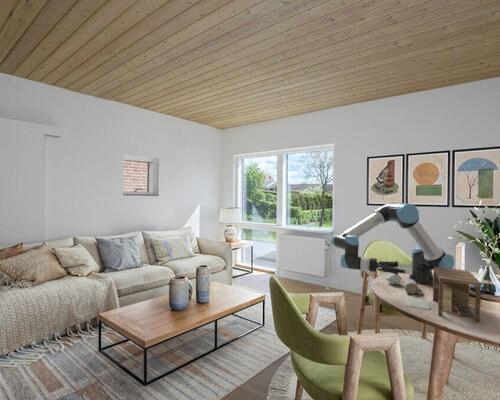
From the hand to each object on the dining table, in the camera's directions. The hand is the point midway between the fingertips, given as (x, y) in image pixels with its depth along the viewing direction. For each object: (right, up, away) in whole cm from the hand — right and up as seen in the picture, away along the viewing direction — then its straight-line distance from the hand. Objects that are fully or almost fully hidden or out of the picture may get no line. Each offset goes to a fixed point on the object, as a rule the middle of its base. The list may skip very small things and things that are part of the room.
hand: (411, 269), depth 160 cm
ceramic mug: (+11, -19, +18) cm, 28 cm away
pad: (+3, -19, 0) cm, 19 cm away
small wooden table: (+17, -19, -8) cm, 27 cm away
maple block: (+14, -19, -6) cm, 24 cm away
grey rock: (+8, -18, +36) cm, 41 cm away
